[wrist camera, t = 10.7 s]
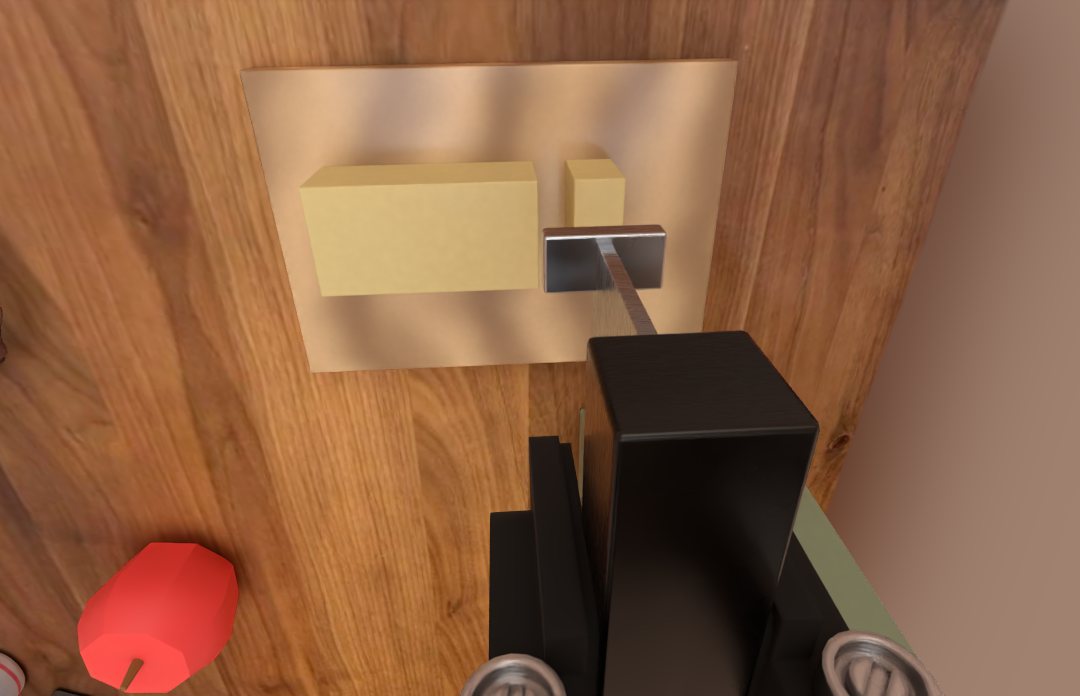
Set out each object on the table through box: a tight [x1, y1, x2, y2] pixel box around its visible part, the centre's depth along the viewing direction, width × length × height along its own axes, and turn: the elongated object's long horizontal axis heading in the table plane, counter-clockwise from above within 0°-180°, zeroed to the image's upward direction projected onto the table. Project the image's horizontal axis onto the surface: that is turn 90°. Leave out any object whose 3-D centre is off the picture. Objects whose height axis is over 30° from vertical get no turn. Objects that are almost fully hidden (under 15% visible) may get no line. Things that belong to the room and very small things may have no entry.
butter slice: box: [565, 159, 626, 227], centre depth 25 cm, size 2×4×4 cm, turn 1°
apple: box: [77, 542, 239, 693], centre depth 35 cm, size 8×8×8 cm
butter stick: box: [298, 161, 539, 297], centre depth 25 cm, size 9×4×4 cm, turn 91°
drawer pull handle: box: [542, 224, 820, 696], centre depth 11 cm, size 2×9×7 cm, turn 1°
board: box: [240, 58, 738, 373], centre depth 28 cm, size 20×14×2 cm
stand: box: [578, 408, 918, 658], centre depth 30 cm, size 10×12×18 cm
